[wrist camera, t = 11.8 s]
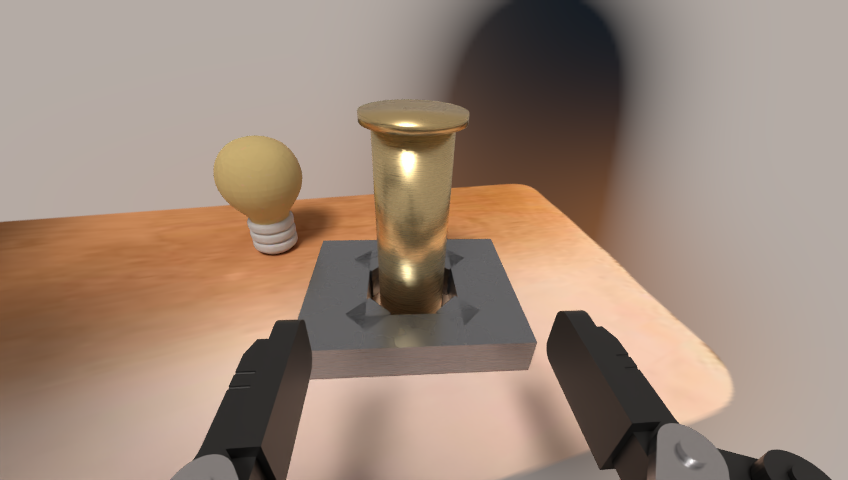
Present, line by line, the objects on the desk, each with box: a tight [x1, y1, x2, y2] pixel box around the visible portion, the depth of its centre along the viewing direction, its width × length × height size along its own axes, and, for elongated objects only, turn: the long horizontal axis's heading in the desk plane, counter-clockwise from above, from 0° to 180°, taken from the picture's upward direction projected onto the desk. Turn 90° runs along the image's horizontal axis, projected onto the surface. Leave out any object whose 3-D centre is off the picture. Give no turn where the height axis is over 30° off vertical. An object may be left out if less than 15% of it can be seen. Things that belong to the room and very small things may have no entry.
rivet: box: [357, 99, 469, 315], centre depth 20 cm, size 6×6×14 cm
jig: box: [298, 239, 537, 379], centre depth 24 cm, size 14×11×2 cm
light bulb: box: [214, 136, 302, 254], centre depth 28 cm, size 6×6×10 cm
